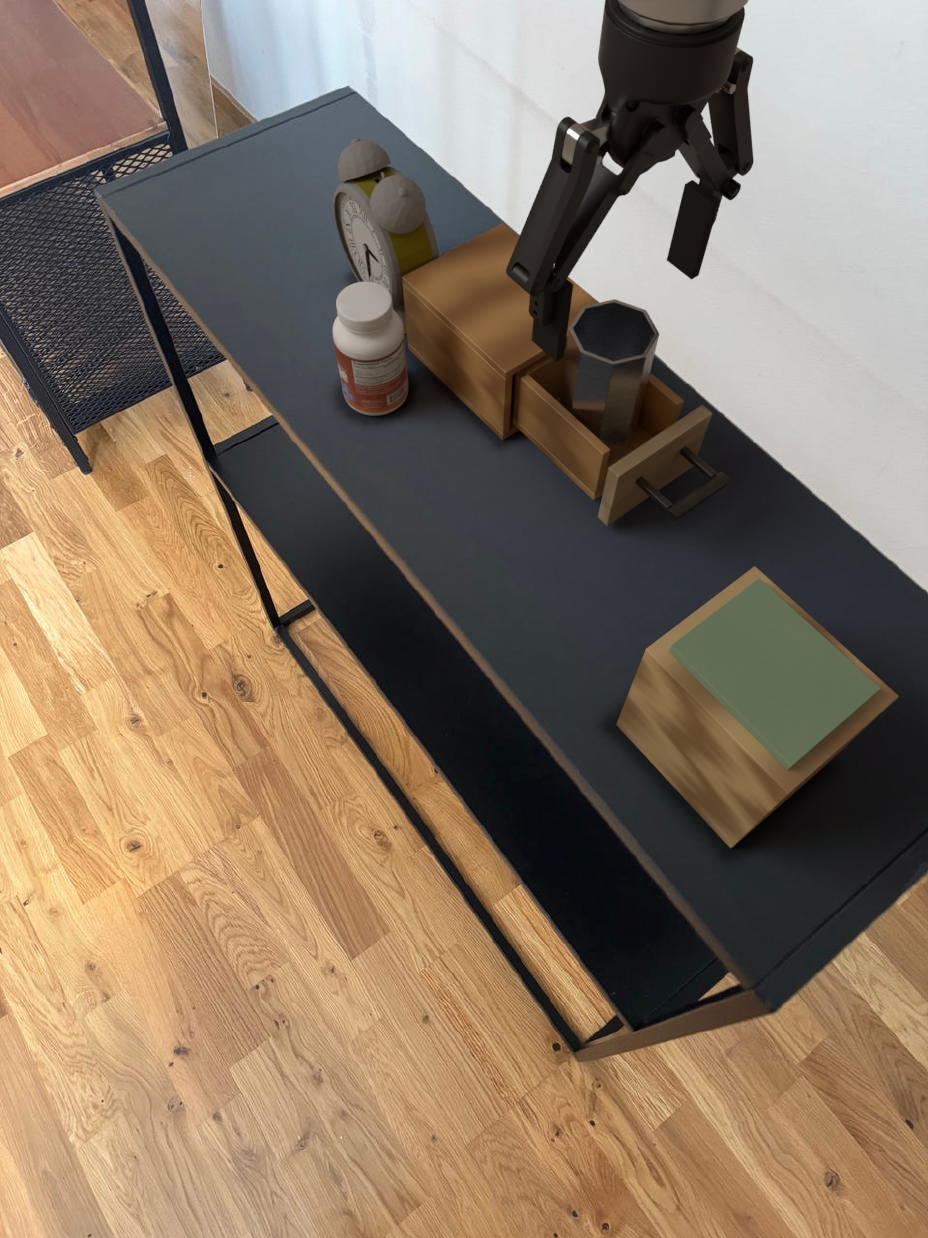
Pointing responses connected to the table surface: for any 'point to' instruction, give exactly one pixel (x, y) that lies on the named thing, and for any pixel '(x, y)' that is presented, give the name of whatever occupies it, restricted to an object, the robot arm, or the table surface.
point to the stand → (724, 732)
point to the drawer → (584, 458)
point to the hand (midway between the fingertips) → (616, 307)
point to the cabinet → (476, 324)
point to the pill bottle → (370, 349)
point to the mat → (774, 672)
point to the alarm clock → (381, 220)
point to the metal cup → (608, 370)
